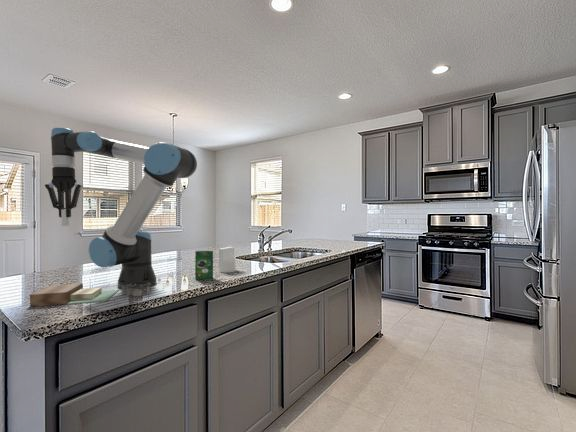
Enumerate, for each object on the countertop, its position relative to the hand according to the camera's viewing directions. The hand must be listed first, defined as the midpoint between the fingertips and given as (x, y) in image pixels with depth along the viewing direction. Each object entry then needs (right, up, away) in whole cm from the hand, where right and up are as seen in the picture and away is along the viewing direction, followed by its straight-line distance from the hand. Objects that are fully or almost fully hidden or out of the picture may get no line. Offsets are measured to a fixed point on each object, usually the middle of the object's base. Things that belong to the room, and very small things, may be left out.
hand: (65, 225), depth 129 cm
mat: (+19, -26, -11) cm, 34 cm away
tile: (+16, -26, -11) cm, 32 cm away
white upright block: (+59, -25, +37) cm, 74 cm away
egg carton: (+32, -26, -6) cm, 42 cm away
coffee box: (+52, -25, +18) cm, 60 cm away
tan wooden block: (+7, -27, -13) cm, 31 cm away
